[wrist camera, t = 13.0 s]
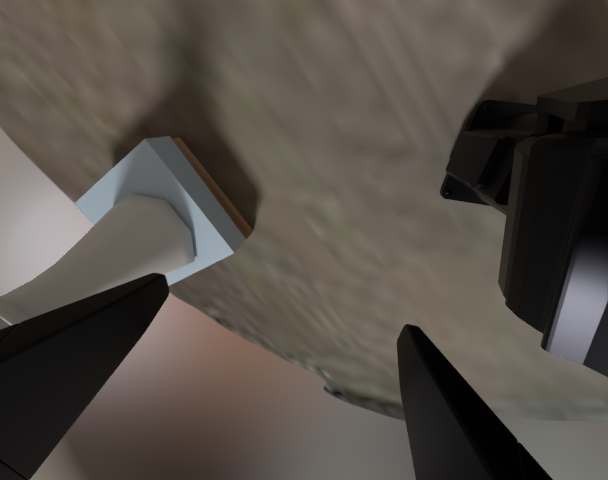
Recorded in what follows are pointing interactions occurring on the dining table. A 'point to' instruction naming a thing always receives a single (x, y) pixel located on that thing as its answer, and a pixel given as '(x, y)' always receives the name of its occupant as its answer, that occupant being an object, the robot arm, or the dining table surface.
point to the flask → (106, 258)
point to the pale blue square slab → (168, 199)
